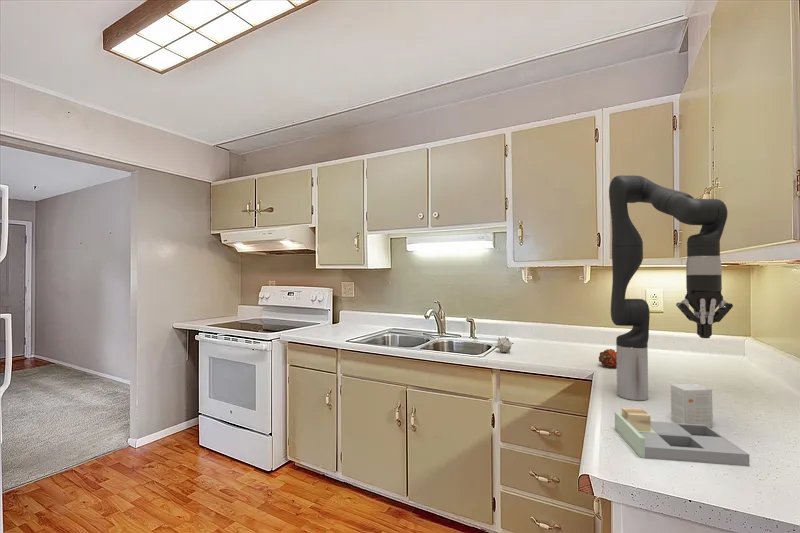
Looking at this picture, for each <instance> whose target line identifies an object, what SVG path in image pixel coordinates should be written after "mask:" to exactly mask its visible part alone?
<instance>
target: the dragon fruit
mask: <svg viewBox="0 0 800 533" xmlns="http://www.w3.org/2000/svg"><path fill="white" fill-rule="evenodd" d="M598 361H599V363H600V364H601V365H603V366H604V367H607V368H609V369H611V368H613V367H615V368H617V352H616V349H615V350H614V349H611V348H609V349H604V350H603V351H600V352H599V355H598Z"/></svg>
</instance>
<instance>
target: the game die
mask: <svg viewBox="0 0 800 533" xmlns="http://www.w3.org/2000/svg"><path fill="white" fill-rule="evenodd" d="M513 344H514V343H513V342H511V341H510V340H509V338H507V337H506V336H505V337H502V338H500V337H498V340H497V343H496V345H495V347H494V348H497V349H499V352H502V354H504V353H507V352H508V353H511V351H510V350H511V349H512V348H511V347H512V345H513Z"/></svg>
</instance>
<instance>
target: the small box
mask: <svg viewBox="0 0 800 533" xmlns="http://www.w3.org/2000/svg"><path fill="white" fill-rule="evenodd" d="M670 417H671V419H670V420H671V422H673V421H674V422H673V423H687V424H704V425H707V426H708V427H710V428H713V427H714V425H713V424H714V423H713V418H714V416H713V389H711V388H709V387H707V386H703V385H701V384H699V383H681V384H680V383H679V384H677V383H675V384H673V383H672V384H670Z"/></svg>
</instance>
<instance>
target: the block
mask: <svg viewBox="0 0 800 533" xmlns="http://www.w3.org/2000/svg"><path fill="white" fill-rule="evenodd" d="M621 415H622V416H623V417H624V418H625V419H626V420H627V421H628V422H629V423H630V424H631V425H632V426H633V427H634V428H635V429H636V430H637V431H650V432H651V421H652V420H651V418H652V417H651V414H649V413H648V412H647V411H646V410H644V409H643V408H635V407H633V408H632V407H621Z"/></svg>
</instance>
